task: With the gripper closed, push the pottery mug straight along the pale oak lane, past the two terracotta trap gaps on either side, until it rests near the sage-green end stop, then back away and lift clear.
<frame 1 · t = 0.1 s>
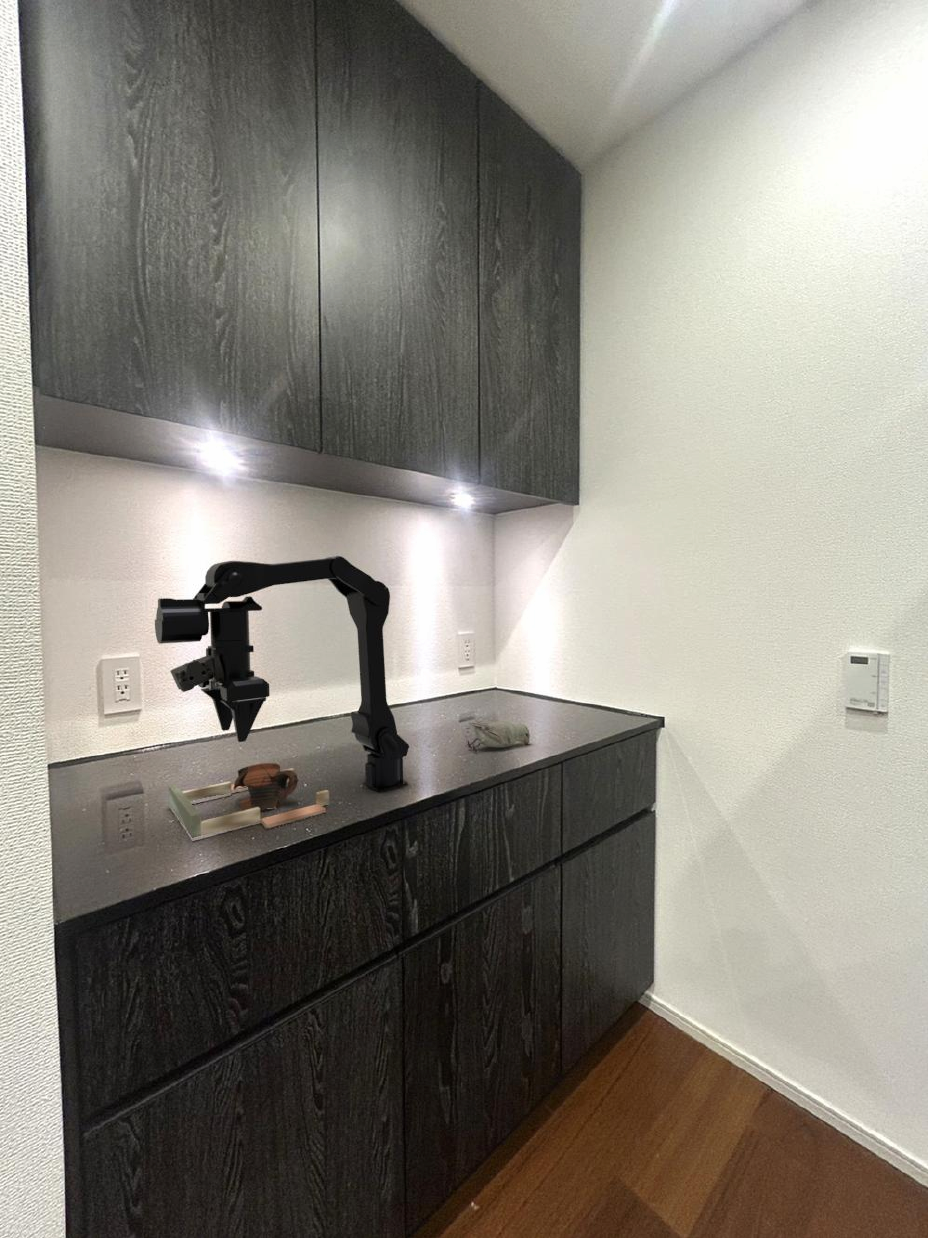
hand: (233, 735, 88), 15 cm above the countertop, tool pointing down, fingers open, 9 cm apart
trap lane: (253, 805, 96), on the countertop
decorative bird: (499, 749, 131), on the countertop
pottery mug: (266, 804, 98), on the countertop
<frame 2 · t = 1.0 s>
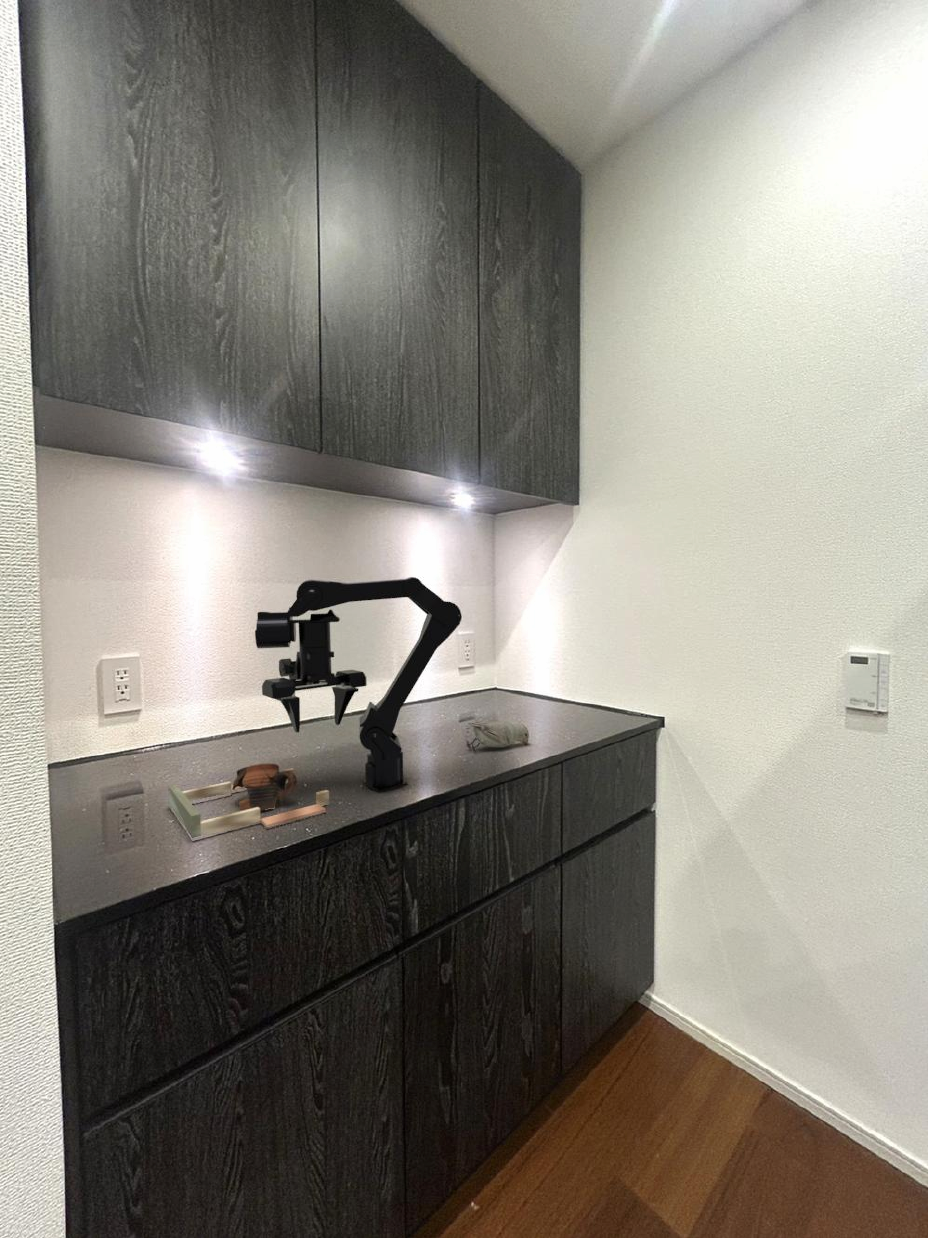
hand: (317, 728, 103), 12 cm above the countertop, tool pointing down, fingers open, 8 cm apart
nothing on the countertop moved.
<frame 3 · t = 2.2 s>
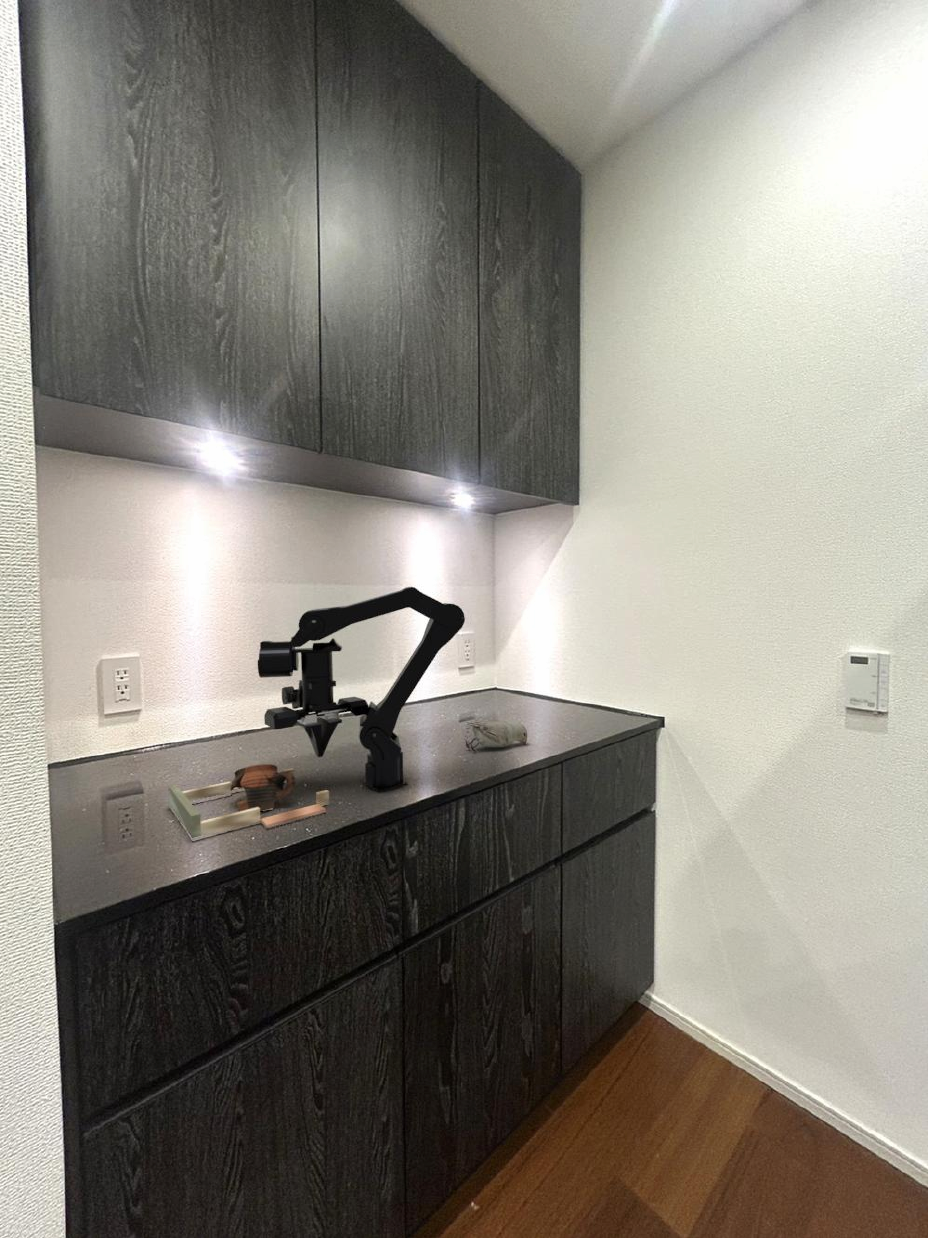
hand: (319, 756, 104), 6 cm above the countertop, tool pointing down, fingers closed
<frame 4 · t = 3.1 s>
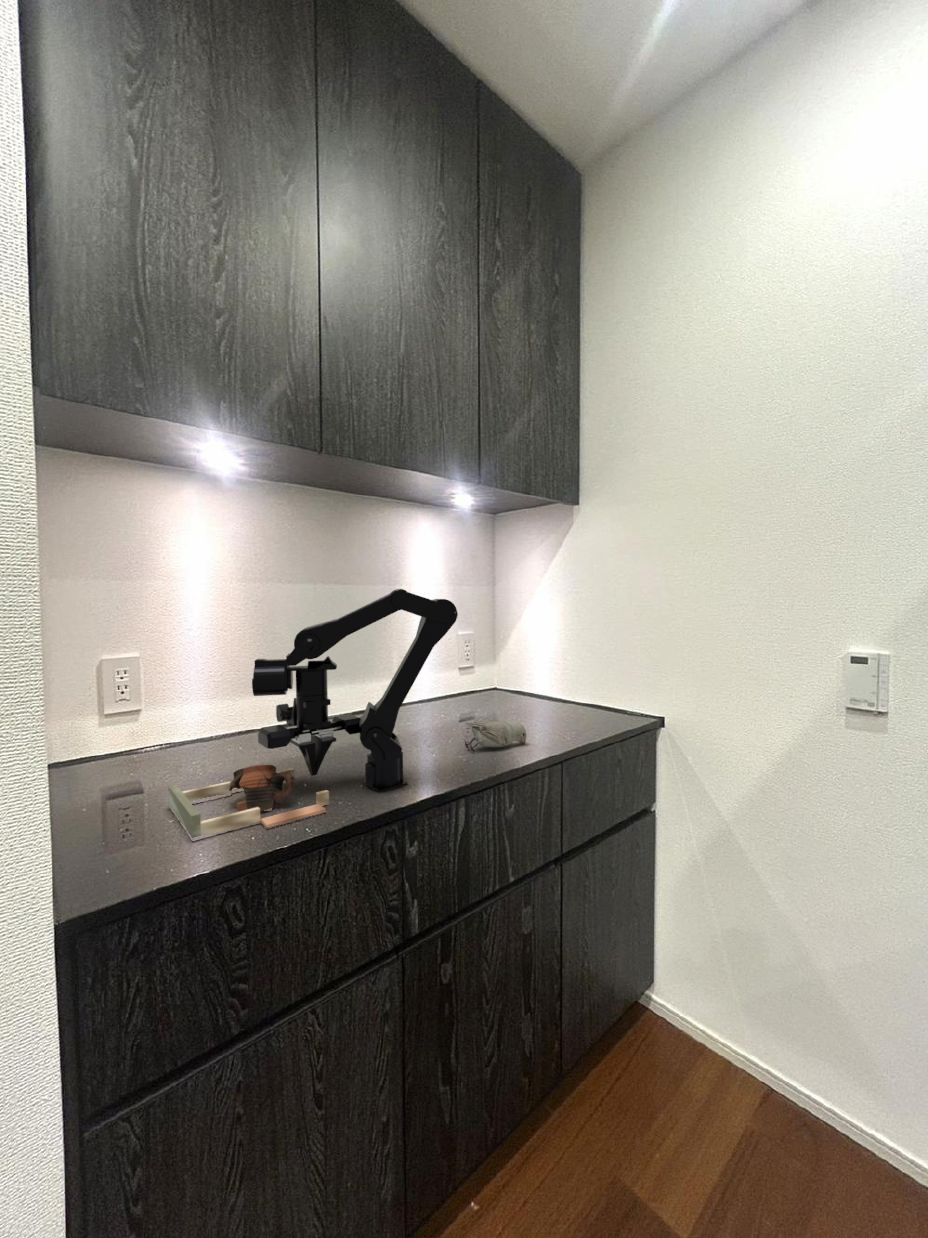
hand: (313, 774, 103), 3 cm above the countertop, tool pointing down, fingers closed
nothing on the countertop moved.
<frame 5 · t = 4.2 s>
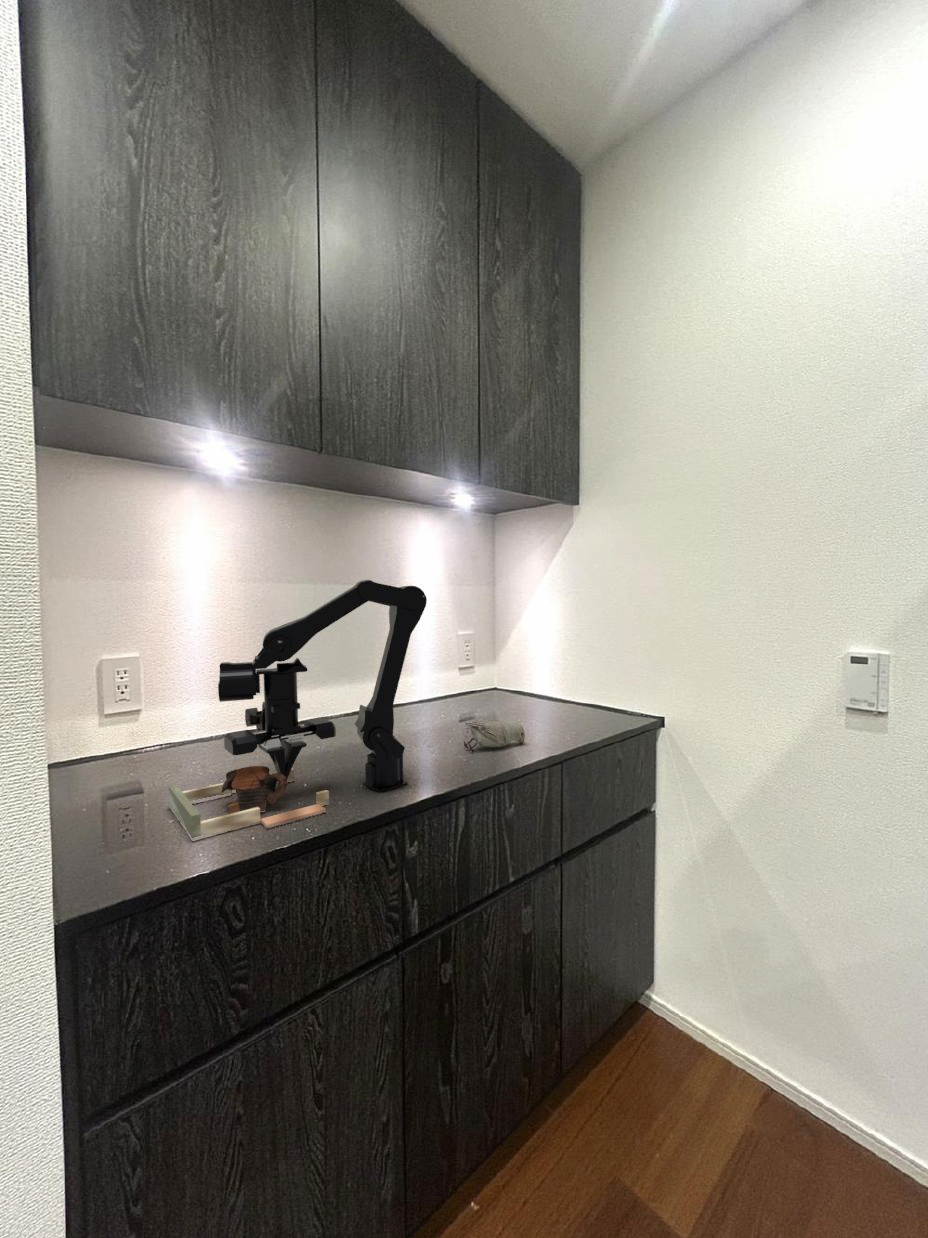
hand: (283, 781, 100), 3 cm above the countertop, tool pointing down, fingers closed
pottery mug: (255, 808, 96), on the countertop, touching gripper
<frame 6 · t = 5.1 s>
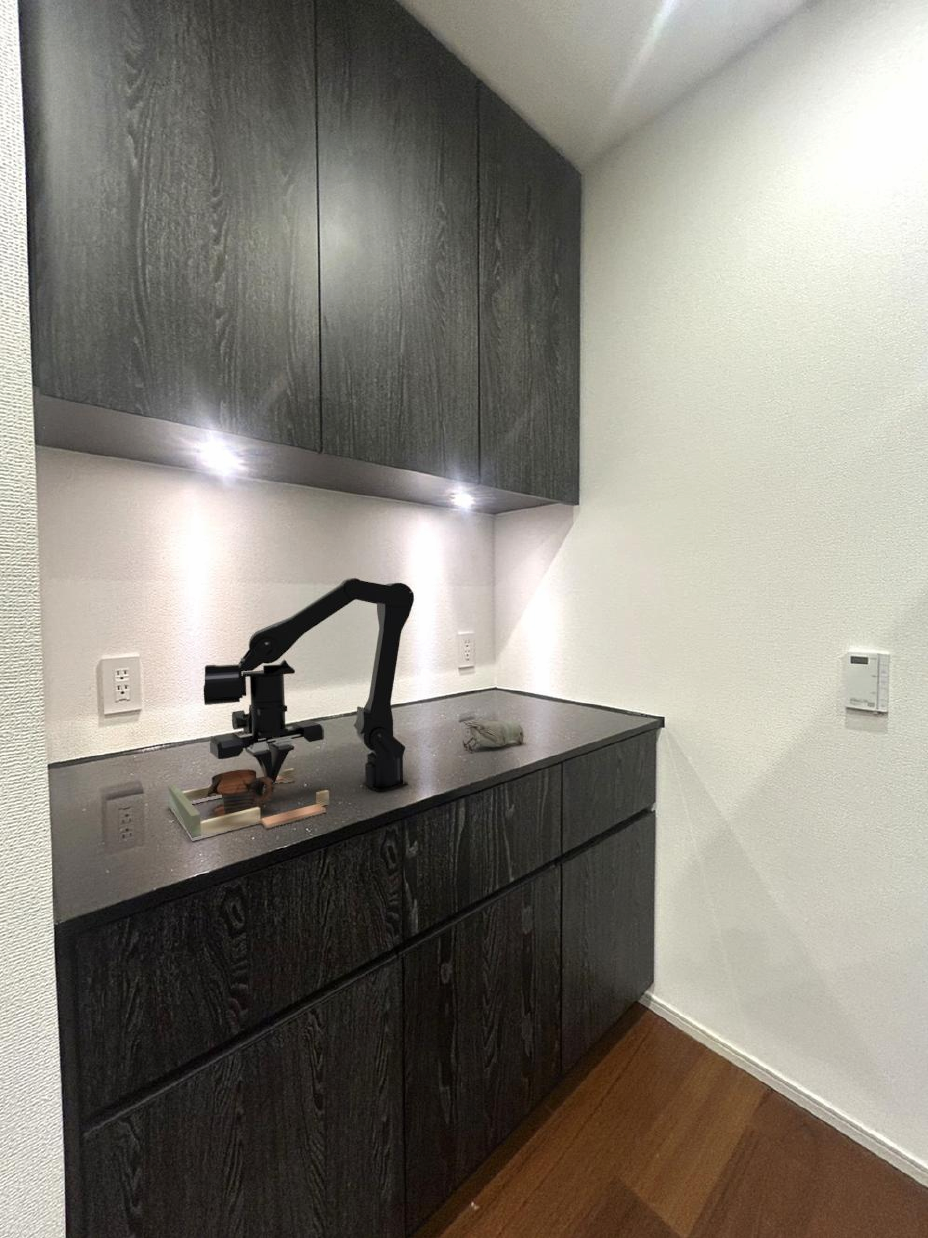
hand: (270, 785, 98), 3 cm above the countertop, tool pointing down, fingers closed
pottery mug: (242, 812, 94), on the countertop, touching gripper
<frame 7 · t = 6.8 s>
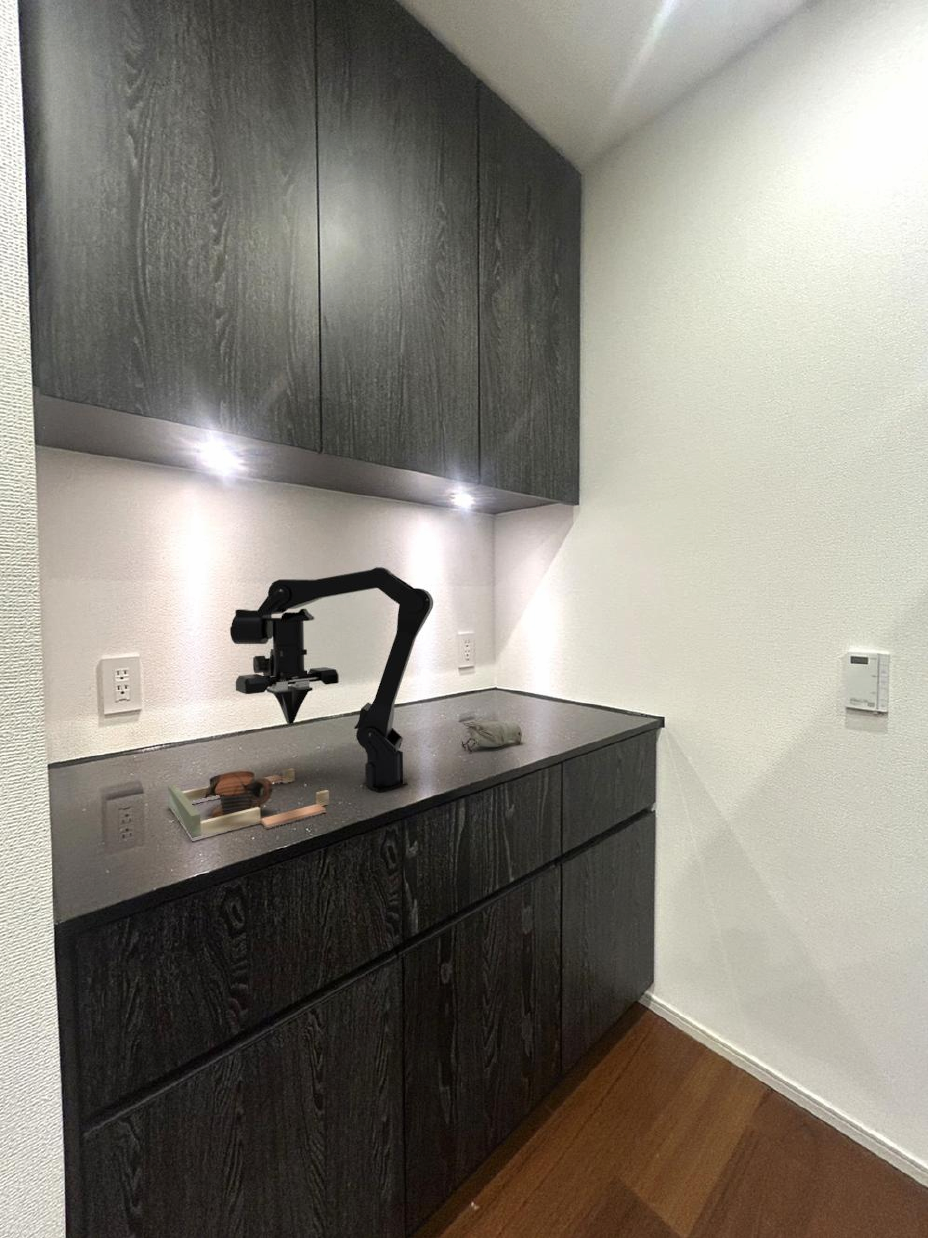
hand: (290, 723, 107), 12 cm above the countertop, tool pointing down, fingers closed
pottery mug: (239, 814, 94), on the countertop
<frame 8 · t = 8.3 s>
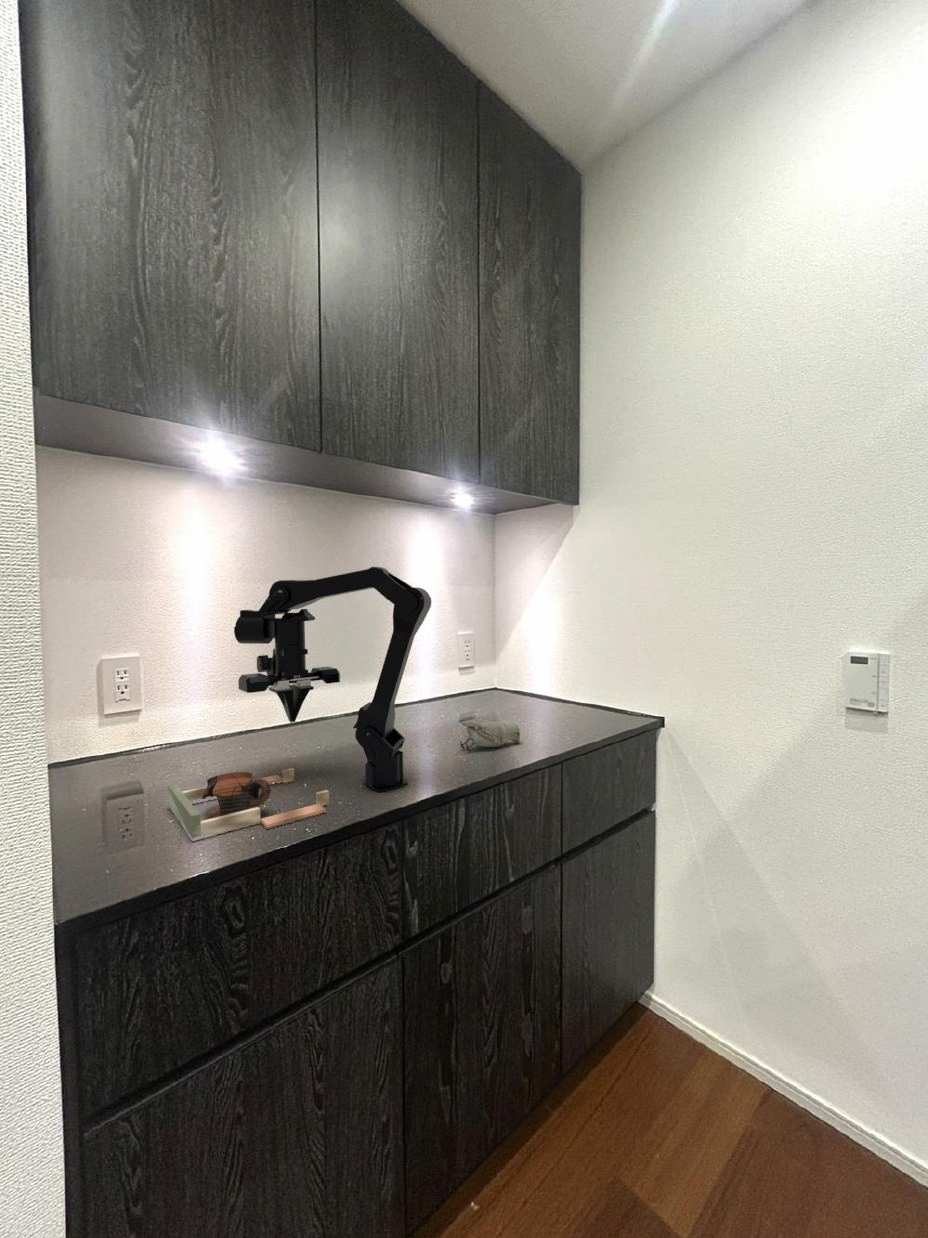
hand: (292, 721, 109), 12 cm above the countertop, tool pointing down, fingers closed
at the end: pottery mug inside the target area (2.9 cm from its centre), on the countertop; pottery mug tilted 1°; pottery mug moved 5.8 cm from its start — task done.
